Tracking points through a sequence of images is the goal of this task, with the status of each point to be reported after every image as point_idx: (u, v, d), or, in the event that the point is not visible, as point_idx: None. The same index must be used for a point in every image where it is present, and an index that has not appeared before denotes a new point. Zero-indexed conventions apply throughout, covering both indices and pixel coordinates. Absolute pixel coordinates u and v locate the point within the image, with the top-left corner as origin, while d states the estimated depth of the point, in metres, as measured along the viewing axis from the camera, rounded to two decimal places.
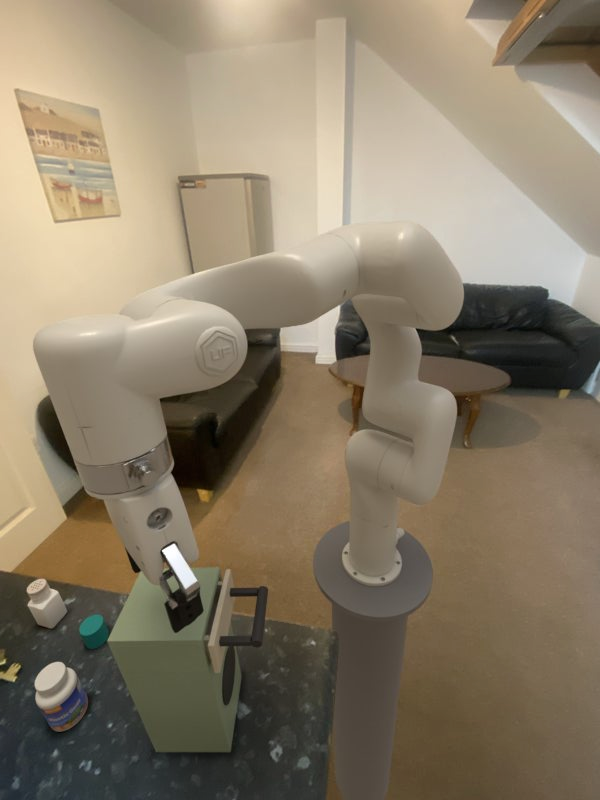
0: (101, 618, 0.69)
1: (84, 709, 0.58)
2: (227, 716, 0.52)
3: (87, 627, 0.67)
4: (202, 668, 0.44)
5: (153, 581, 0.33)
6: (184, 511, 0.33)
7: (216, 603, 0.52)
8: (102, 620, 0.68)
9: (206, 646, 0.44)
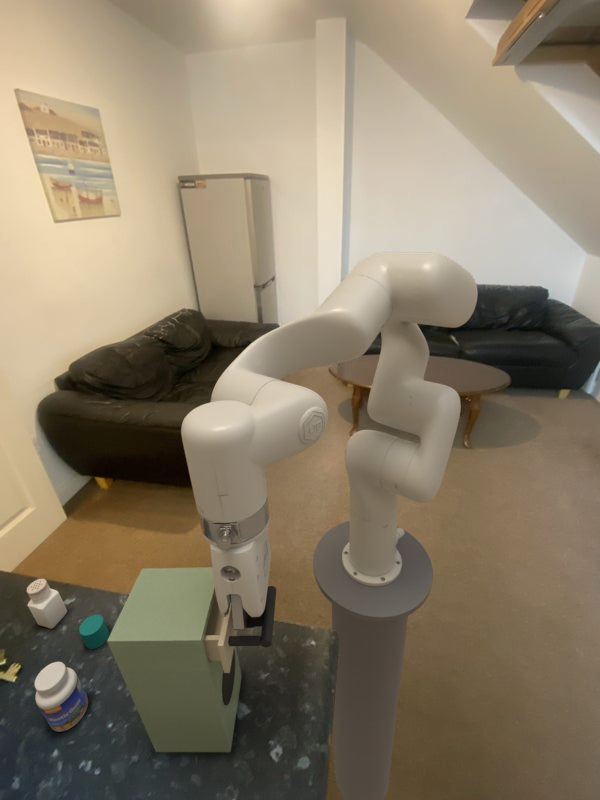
0: (101, 618, 0.69)
1: (84, 709, 0.58)
2: (227, 716, 0.52)
3: (87, 627, 0.67)
4: (202, 668, 0.44)
5: (220, 611, 0.40)
6: (252, 577, 0.38)
7: None
8: (102, 620, 0.68)
9: (215, 646, 0.44)
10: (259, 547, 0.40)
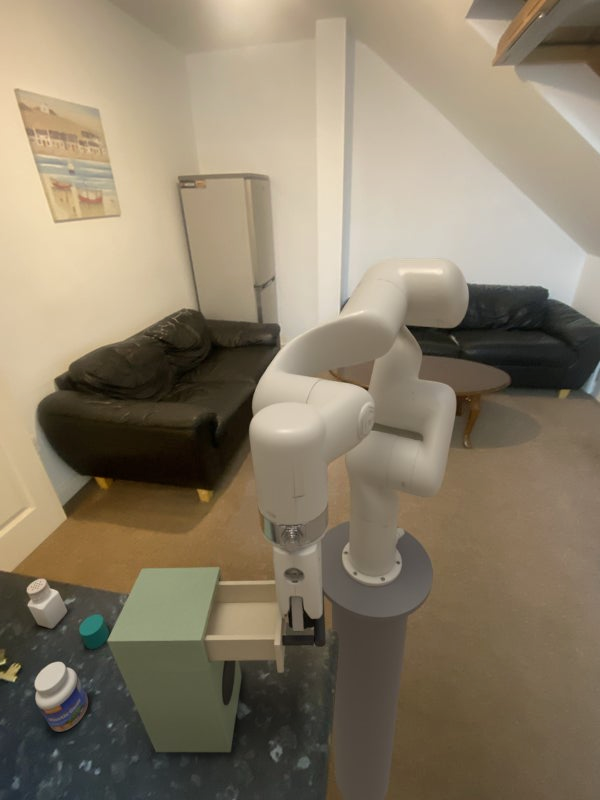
0: (101, 618, 0.69)
1: (84, 709, 0.58)
2: (227, 716, 0.52)
3: (87, 627, 0.67)
4: (202, 668, 0.44)
5: (280, 613, 0.40)
6: (316, 579, 0.38)
7: (270, 602, 0.52)
8: (102, 620, 0.68)
9: (269, 645, 0.44)
10: (319, 549, 0.40)
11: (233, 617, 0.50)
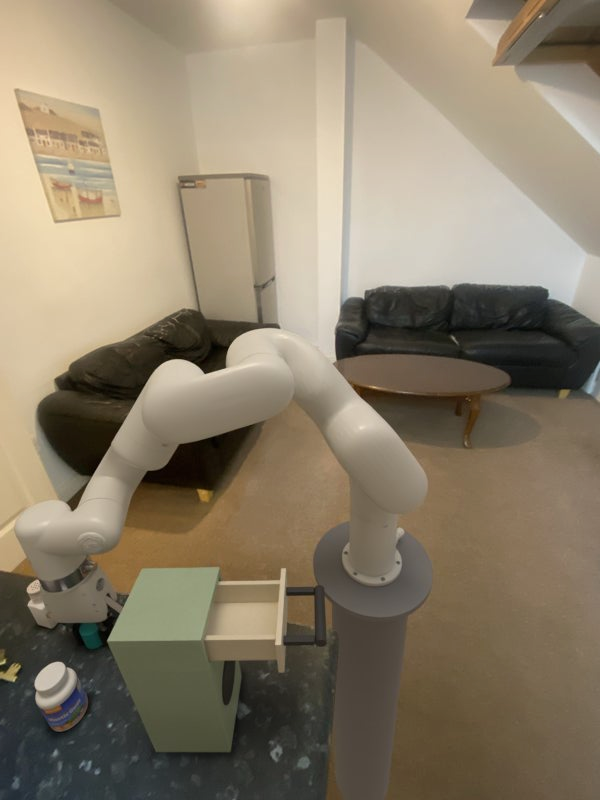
0: None
1: (84, 709, 0.58)
2: (227, 716, 0.52)
3: (87, 627, 0.67)
4: (202, 668, 0.44)
5: (104, 618, 0.64)
6: (107, 576, 0.65)
7: (271, 602, 0.52)
8: None
9: (270, 645, 0.44)
10: None
11: (234, 617, 0.50)
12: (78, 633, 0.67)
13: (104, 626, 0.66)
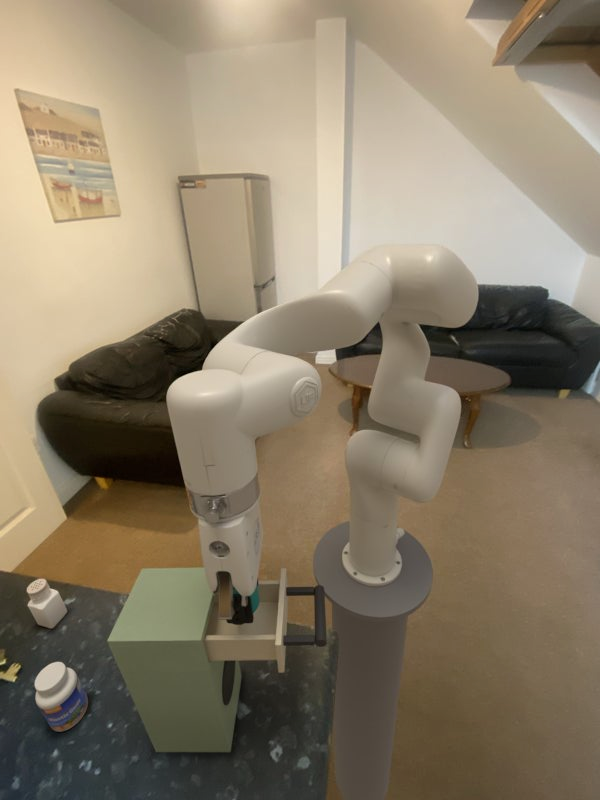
0: None
1: (84, 709, 0.58)
2: (227, 716, 0.52)
3: None
4: (202, 668, 0.44)
5: None
6: (242, 553, 0.37)
7: (271, 602, 0.52)
8: None
9: (270, 645, 0.44)
10: (249, 523, 0.38)
11: None
12: None
13: None
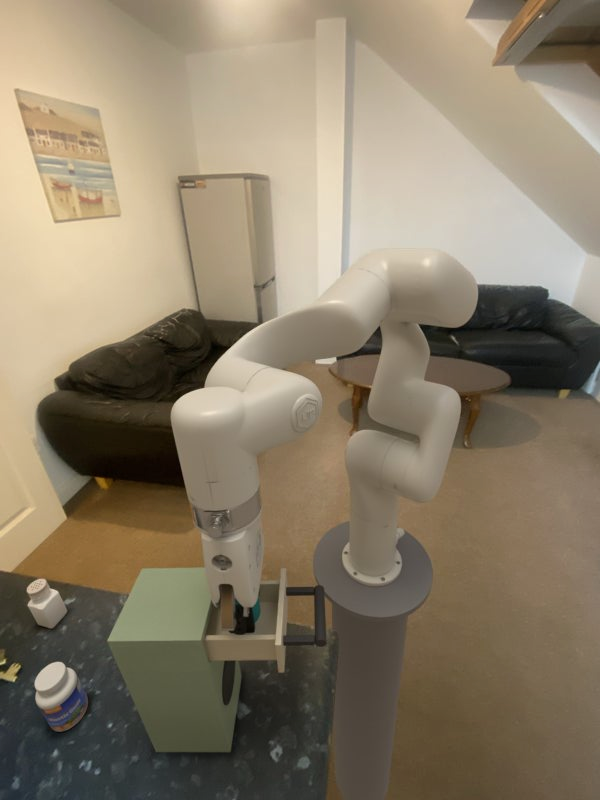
0: None
1: (84, 709, 0.58)
2: (227, 716, 0.52)
3: None
4: (202, 668, 0.44)
5: None
6: (244, 566, 0.37)
7: (271, 602, 0.52)
8: None
9: (270, 645, 0.44)
10: (251, 536, 0.39)
11: None
12: None
13: None
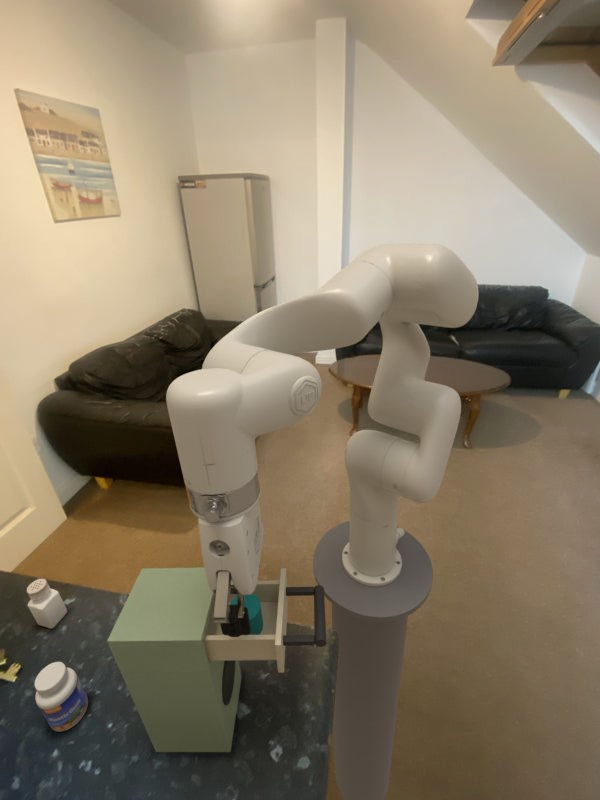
0: (252, 616, 0.46)
1: (84, 709, 0.58)
2: (227, 716, 0.52)
3: None
4: (202, 668, 0.44)
5: (210, 589, 0.39)
6: (242, 552, 0.37)
7: (271, 602, 0.52)
8: (249, 619, 0.46)
9: (270, 645, 0.44)
10: (249, 522, 0.38)
11: None
12: None
13: None
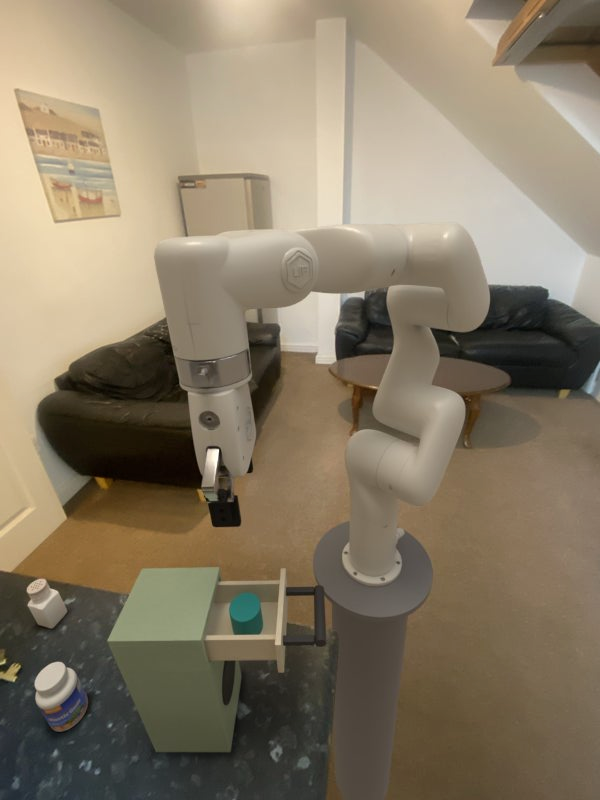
0: (252, 616, 0.46)
1: (84, 709, 0.58)
2: (227, 716, 0.52)
3: (241, 603, 0.47)
4: (202, 668, 0.44)
5: (200, 471, 0.38)
6: (232, 425, 0.36)
7: (271, 602, 0.52)
8: (249, 619, 0.46)
9: (270, 645, 0.44)
10: (240, 401, 0.38)
11: None
12: None
13: None
